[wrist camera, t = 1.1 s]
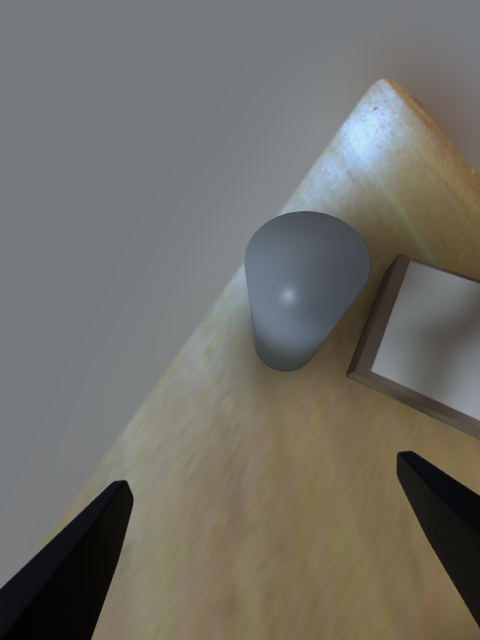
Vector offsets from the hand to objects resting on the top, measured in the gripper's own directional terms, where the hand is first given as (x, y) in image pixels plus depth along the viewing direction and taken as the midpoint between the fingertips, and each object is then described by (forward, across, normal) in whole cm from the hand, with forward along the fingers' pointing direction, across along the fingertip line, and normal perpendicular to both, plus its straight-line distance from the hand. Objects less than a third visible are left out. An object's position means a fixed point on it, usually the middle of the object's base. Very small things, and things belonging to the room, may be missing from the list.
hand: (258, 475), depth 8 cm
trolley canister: (+16, -3, +2) cm, 16 cm away
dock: (+14, -16, +4) cm, 22 cm away
